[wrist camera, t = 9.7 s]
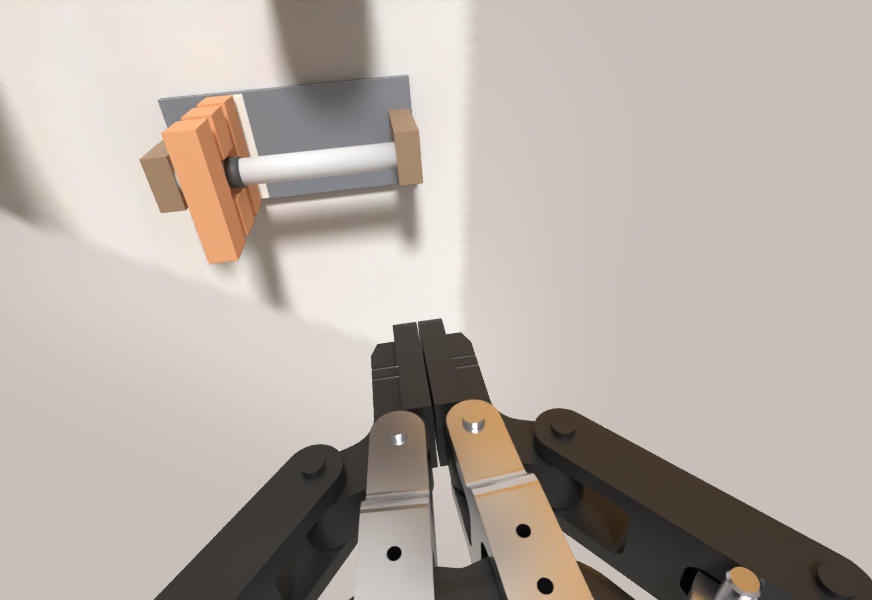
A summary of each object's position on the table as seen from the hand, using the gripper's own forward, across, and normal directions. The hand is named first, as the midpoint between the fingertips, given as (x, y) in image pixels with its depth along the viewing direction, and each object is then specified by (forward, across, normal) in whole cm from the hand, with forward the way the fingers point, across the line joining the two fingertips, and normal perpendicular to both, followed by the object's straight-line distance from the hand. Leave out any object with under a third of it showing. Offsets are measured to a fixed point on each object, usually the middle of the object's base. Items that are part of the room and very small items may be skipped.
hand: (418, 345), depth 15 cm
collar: (+31, +12, +2) cm, 34 cm away
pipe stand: (+33, +7, +2) cm, 34 cm away
